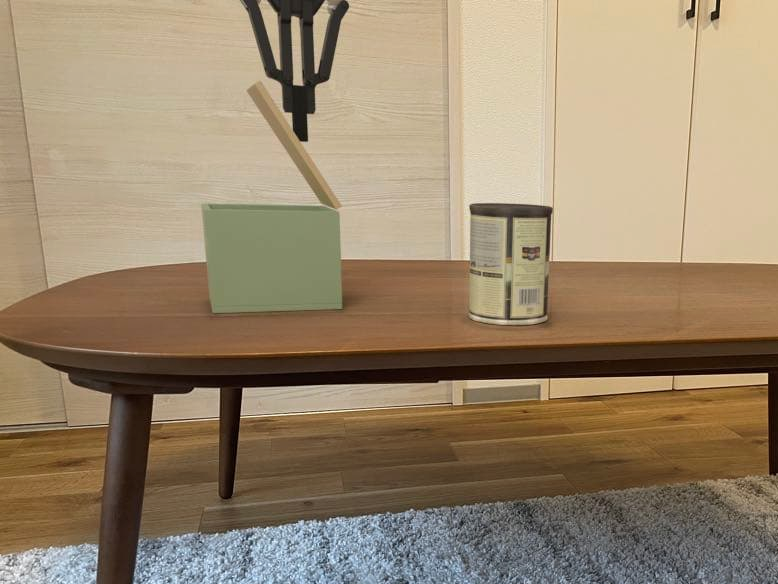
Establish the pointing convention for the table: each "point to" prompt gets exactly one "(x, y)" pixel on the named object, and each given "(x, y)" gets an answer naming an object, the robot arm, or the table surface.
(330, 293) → the chest
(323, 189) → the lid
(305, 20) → the robot arm
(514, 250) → the coffee can
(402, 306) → the table surface
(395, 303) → the table surface
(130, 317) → the table surface
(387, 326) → the table surface
